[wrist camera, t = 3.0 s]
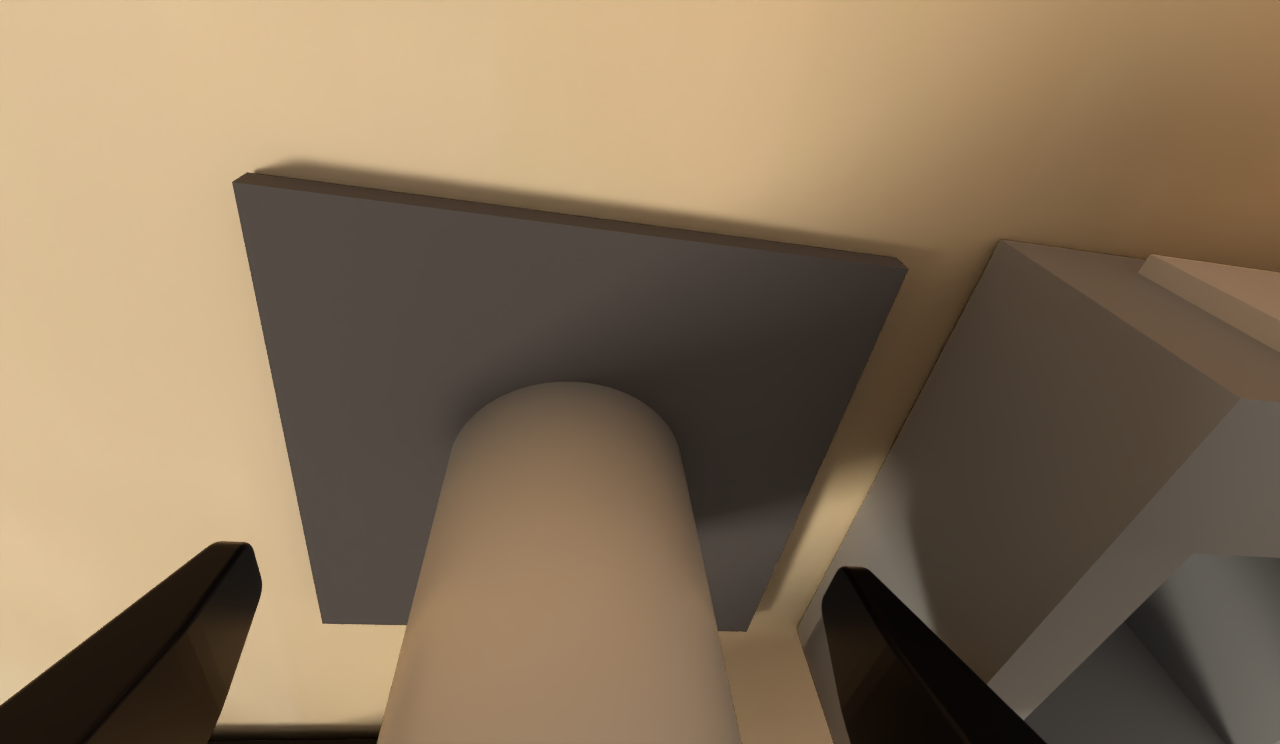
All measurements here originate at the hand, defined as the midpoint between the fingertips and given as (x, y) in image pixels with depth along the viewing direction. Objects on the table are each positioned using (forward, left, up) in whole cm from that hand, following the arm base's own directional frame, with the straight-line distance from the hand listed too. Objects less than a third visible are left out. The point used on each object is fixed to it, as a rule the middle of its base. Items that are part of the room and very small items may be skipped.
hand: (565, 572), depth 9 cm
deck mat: (0, 0, -2) cm, 2 cm away
